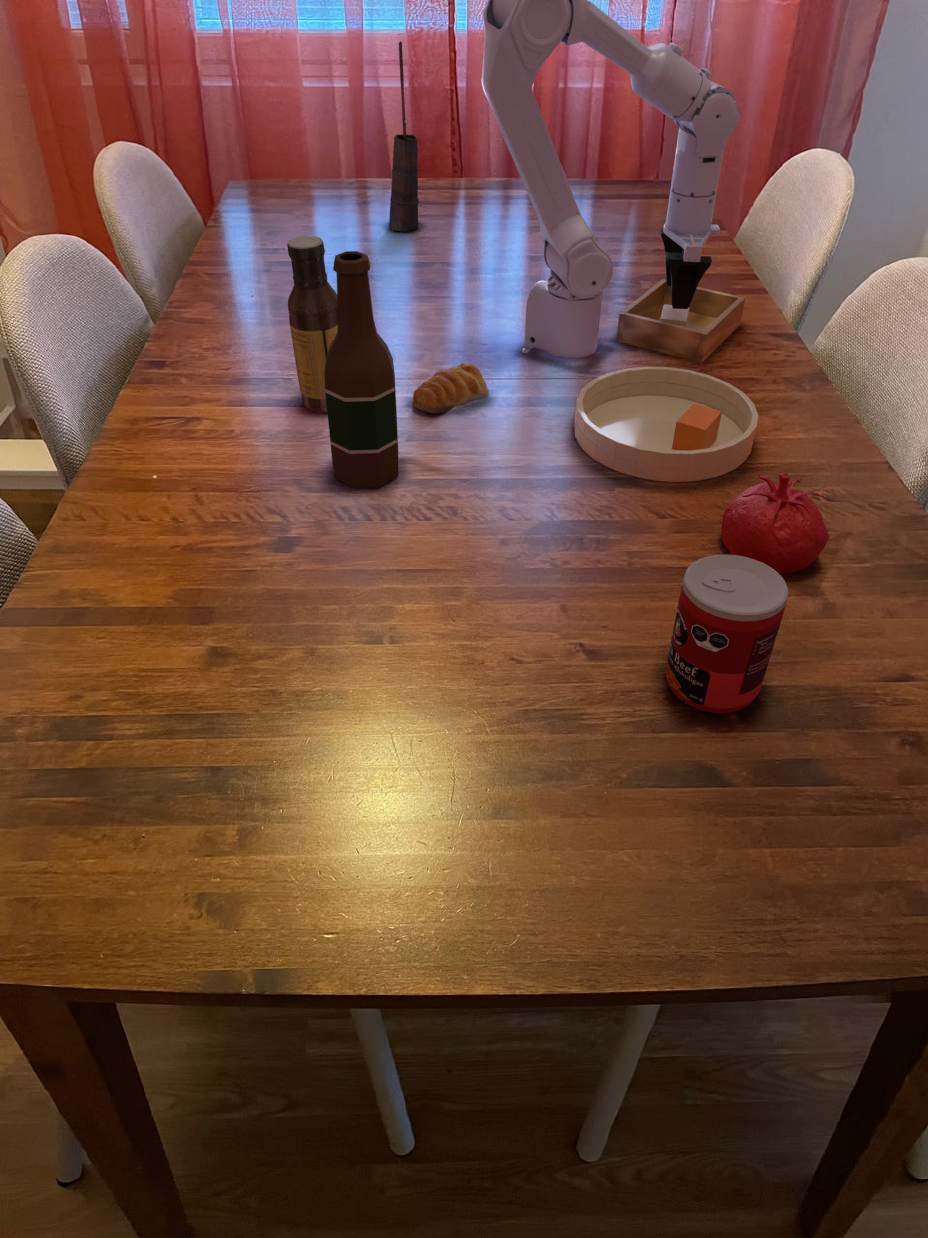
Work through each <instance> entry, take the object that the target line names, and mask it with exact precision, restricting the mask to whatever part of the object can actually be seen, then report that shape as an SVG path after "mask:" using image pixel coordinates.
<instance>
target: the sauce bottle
mask: <svg viewBox="0 0 928 1238" xmlns="http://www.w3.org/2000/svg"><path fill="white" fill-rule="evenodd" d="M286 244H287V245H286V246H287V253H288V257H289V259H290V262H291V271H292V279H293V286H292V289H291V291H290V294H289V296H288V298H287V311H288V314H289V315H288V321H289V328H290V334H291V335H290V336H291V343H292V349H293V355H294V361H295V362H294V363H295V367H296V368H295V369H296V374H297V380H298V385H299V392H300V393H301V401H302V404H303V406H304V407H305V408H307V409H308V410H309V411H312V412H314V413H319V414H322V413H323V414H327V404H326V394H325V364H326V358H327V354H328V350H329V346H330V345H331V343H332V341H333V340H334V338H335V336H336V335H337V330H338V307H337V291H336V290H335V289H334V288H333V286H332V285H331V284H330V282H329V280H328V274H327V271H326V262H325V253H326V249H325V243H324V240H323V239H322V238H321V237H320V236H316V235H300V236H296V237H293V238H292V239H289V240H288V242H287V243H286Z"/></svg>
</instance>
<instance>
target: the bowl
mask: <svg viewBox="0 0 928 1238" xmlns="http://www.w3.org/2000/svg"><path fill="white" fill-rule="evenodd" d="M692 404H697V405H701V406H704V407H708V408H711V409H715V410H719V411H722V415H721V420H720V425H719V430H718V435H717V439H716V440H715V441H714V442H713V443H712V444H711V446H710V447H709V448H708V449H699V450H691V451H682V450H675V449H672V444H673V438H674V432H675V426H676V421H677V420H678V419H679V418H680V417H681V416H682V415H683V414H684V413H685V412H686V411H687V410H688V409H689V408H690V407H691V406H692ZM574 411H575V412H574V423H573V427H574V438H575V440H576V441H577V444H578V445H579V446H580V448H581V450H583V452H584V453H585V454H587V455H588V456H589V457H590V458H591V459H593V460H594V461H595V462H597V463H599V464H601V465H602V466H604V467H606V468H609V469H611V470H613V471H616V472H618V473H621V474H624V475H627V476H630V477H633V478H639V479H643V480H647V481H656V482H669V483H687V482H688V483H689V482H699V481H705V480H709V479H714V478H717V477H720V476H723V475H726V474H728V473H730V472H732V471H734V470H736V469H737V468H739V467H740V466H741V465H743V464H744V463H745V461H746V460H747V459H748V458H749V456H750V455H751V452H752V449H753V445H754V440H755V435H756V432H757V427H758V423H759V422H758V421H759V417H760V416H759V413H758V409H757V407H756V405H755V403H754V402H753V400H752V399H750V397H748V395H747V394H746V393H744V392H743V391H742V390H740V389H739V388H737V387H736V386H734V385H733V384H731V383H729V382H727V381H725V380H722V379H720V378H717V377H715V376H712V375H710V374H706V373H703V372H698V371H696V370H695V371H694V370H692V369H691V370H690V369H684V368H676V367H671V366H670V367H669V366H639V367H628V368H623V369H618V370H615V371H610V372H606V373H604V374H602V375H600V376H598V377H596V378H593V379H591V380H590V381H589V382H588V383H586V384H585V385H584V386H583V387H582V388H581V389H580V391H579V393H578V395H577V397H576V400H575V410H574Z"/></svg>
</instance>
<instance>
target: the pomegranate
mask: <svg viewBox="0 0 928 1238" xmlns="http://www.w3.org/2000/svg"><path fill="white" fill-rule="evenodd" d="M758 478H759V479H760V480H762V481H764V482H760V483H758V484H756V485H752V486H751V487H749V488H746V489H745V490H743V491H742V492H741V493H740V494H738V495H737V496H735V497H734V498H733V499H732V500H731V501H730V502H729V504H727V506H726V507H725V509H724V512H723V514H722V520H721V526H720V527H721V528H720V529H721V530H720V531H721V533H720V535H721V537H720V539H721V542H722V544H723V546H724V547H725V549H726V550H727V551H728V552H729V555H737V556H743V557H747V558H751V559H754V560H757V561H759V562H762V563H764V564H766V565H767V566H769V567H771V568H772V569H774V570H775V571H776V572H778V573H779V575H786V574H793V573H795V572H798V571H801V570H804V569H805V568H808V566H810V565H812V563H813V562H814V561H816V559H817V558H818V557H819V556H820V555H821V553H822V552H823V551H824V549H825V547H826V546H827V544H828V543H827V542H828V540H829V539H830V534H829V532H828V531H829V530H828V529H827V526H826V524H825V522H824V520H823V514H822V512H821V511H820V510H819V508H818V507H817V505H816V503H815V501H813V500H812V499H811V498H810V497H809V496H808V495H812V496H817V497H821V498H825V495H821V494H818V493H815V492H812V491H803V490H801V489H794V488H793V487H794V485H795V484H797V483H799V484H800V483H802V479H801V478H800V479H798V478H794V479H792V480H791V482H790V479H791V477H790V475H789V474H788V473H787V472H786V471H781V472H780V473H779V475H778V480H779V481H778V482H774V481H773V480H772V479H771V478H769V477H768V476H763V475H761V474H760V473H759V474H758ZM789 482H790V483H789Z"/></svg>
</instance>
